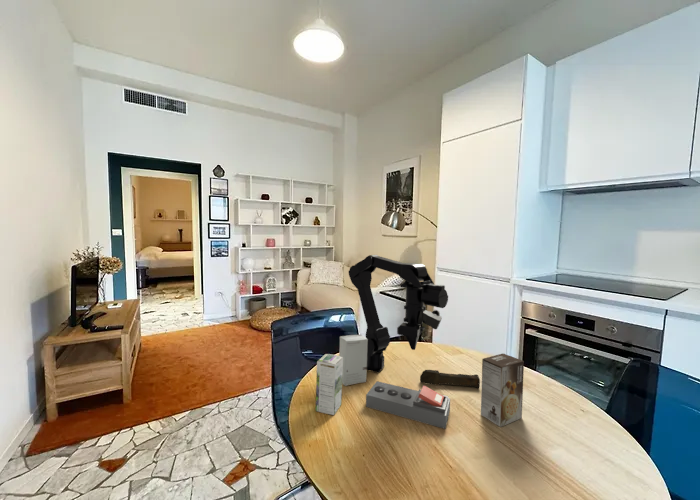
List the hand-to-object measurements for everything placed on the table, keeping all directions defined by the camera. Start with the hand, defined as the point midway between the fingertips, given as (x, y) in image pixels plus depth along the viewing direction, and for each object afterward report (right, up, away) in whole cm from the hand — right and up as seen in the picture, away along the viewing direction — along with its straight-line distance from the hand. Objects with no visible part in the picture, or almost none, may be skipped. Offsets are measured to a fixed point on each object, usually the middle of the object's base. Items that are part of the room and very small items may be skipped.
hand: (413, 349), depth 98 cm
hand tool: (+12, -13, +1) cm, 18 cm away
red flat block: (+2, -8, -16) cm, 18 cm away
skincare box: (-20, -12, +3) cm, 23 cm away
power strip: (-4, -13, -13) cm, 19 cm away
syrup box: (-27, -12, -13) cm, 32 cm away
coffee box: (+21, -13, -16) cm, 29 cm away
